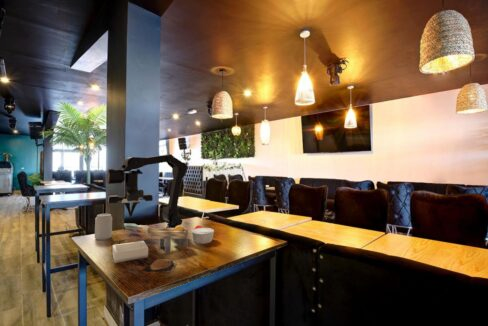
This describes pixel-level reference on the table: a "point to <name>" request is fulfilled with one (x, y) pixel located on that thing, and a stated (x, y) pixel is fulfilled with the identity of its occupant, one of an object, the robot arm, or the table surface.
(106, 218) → the can
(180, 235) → the chute
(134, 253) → the bin
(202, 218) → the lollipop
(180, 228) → the ball
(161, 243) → the pivot stand
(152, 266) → the bread roll
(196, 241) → the ramekin
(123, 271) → the table surface
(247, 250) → the table surface
